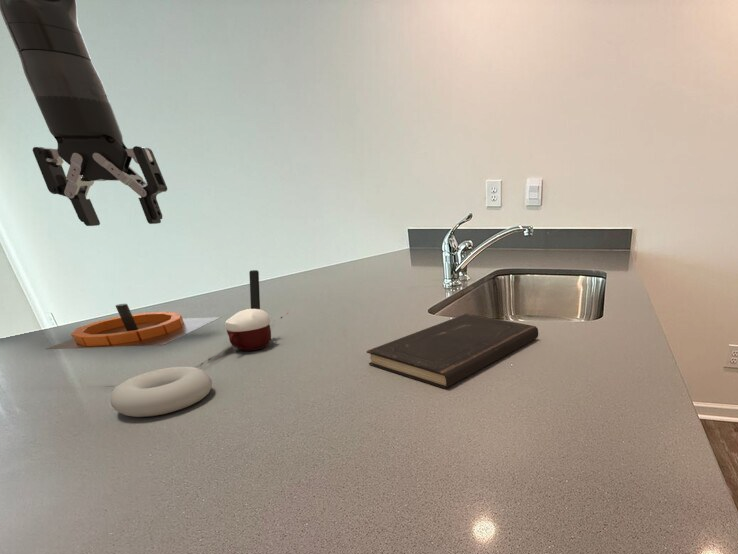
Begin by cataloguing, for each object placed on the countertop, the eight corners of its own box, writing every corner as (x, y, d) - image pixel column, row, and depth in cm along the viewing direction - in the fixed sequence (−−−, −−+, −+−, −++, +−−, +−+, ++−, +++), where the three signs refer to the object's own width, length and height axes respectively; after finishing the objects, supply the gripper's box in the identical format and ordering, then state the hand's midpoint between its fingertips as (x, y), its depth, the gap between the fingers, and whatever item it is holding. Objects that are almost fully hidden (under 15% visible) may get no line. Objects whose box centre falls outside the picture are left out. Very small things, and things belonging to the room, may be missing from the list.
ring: (51, 347, 67) (46, 338, 66) (124, 321, 80) (120, 313, 80) (144, 344, 68) (140, 335, 67) (200, 318, 81) (197, 310, 80)
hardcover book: (369, 365, 61) (366, 350, 60) (467, 325, 78) (466, 313, 77) (447, 390, 53) (446, 374, 52) (538, 339, 70) (538, 326, 69)
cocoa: (241, 359, 65) (215, 283, 59) (218, 353, 67) (192, 280, 62) (294, 340, 72) (275, 271, 67) (271, 335, 75) (252, 269, 70)
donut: (143, 391, 55) (97, 428, 46) (133, 368, 54) (83, 401, 45) (227, 381, 57) (197, 414, 48) (219, 359, 56) (187, 388, 47)
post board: (49, 357, 67) (27, 319, 64) (126, 327, 82) (112, 295, 79) (167, 353, 68) (151, 315, 65) (223, 324, 82) (212, 292, 79)
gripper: (148, 104, 60) (187, 221, 67) (37, 103, 58) (90, 224, 65) (112, 93, 54) (161, 225, 61) (-15, 92, 52) (51, 228, 59)
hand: (124, 224), depth 63 cm, fingers open, 8 cm apart
